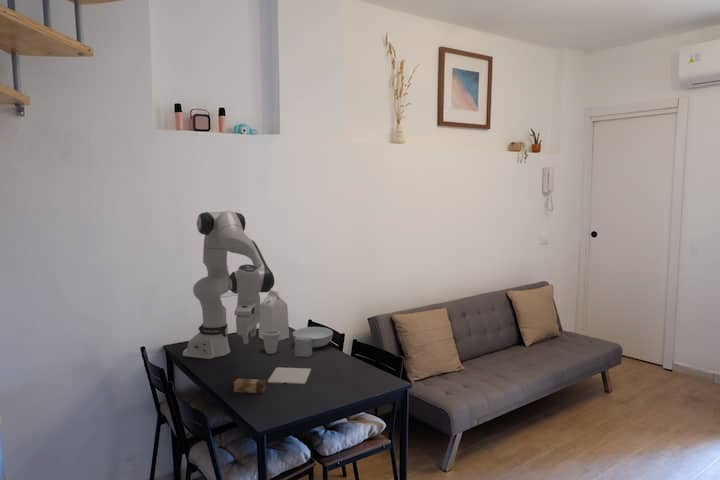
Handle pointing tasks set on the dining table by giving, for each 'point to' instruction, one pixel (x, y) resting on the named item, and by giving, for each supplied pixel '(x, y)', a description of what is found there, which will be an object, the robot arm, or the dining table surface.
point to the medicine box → (303, 347)
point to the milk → (274, 315)
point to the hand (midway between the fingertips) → (249, 339)
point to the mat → (289, 375)
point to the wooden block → (250, 385)
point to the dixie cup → (271, 340)
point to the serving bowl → (315, 335)
